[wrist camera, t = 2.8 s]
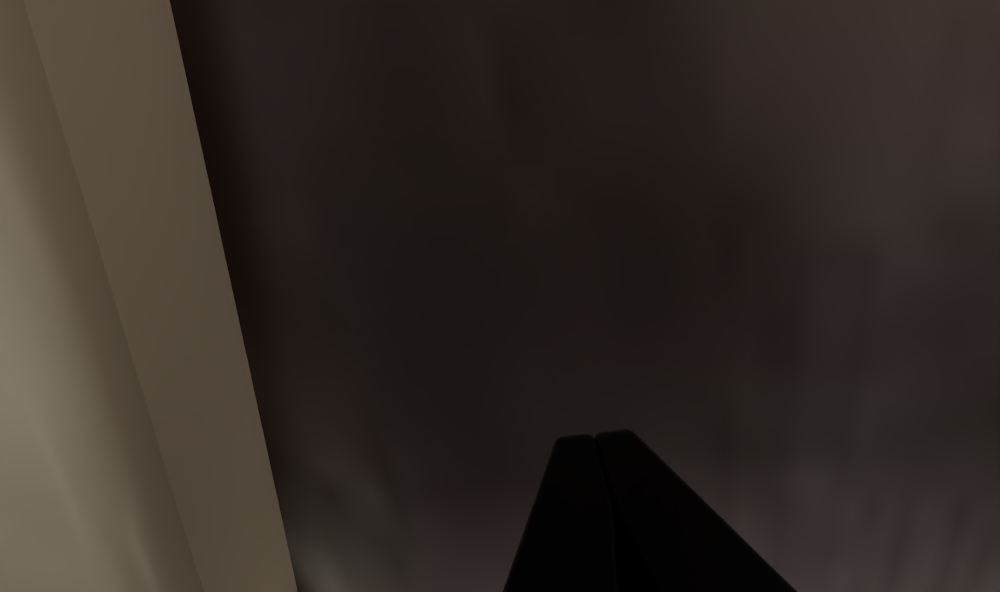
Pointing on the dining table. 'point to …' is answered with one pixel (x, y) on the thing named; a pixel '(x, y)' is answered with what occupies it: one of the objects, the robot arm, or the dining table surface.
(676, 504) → the robot arm
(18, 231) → the electrical outlet
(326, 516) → the dining table surface
